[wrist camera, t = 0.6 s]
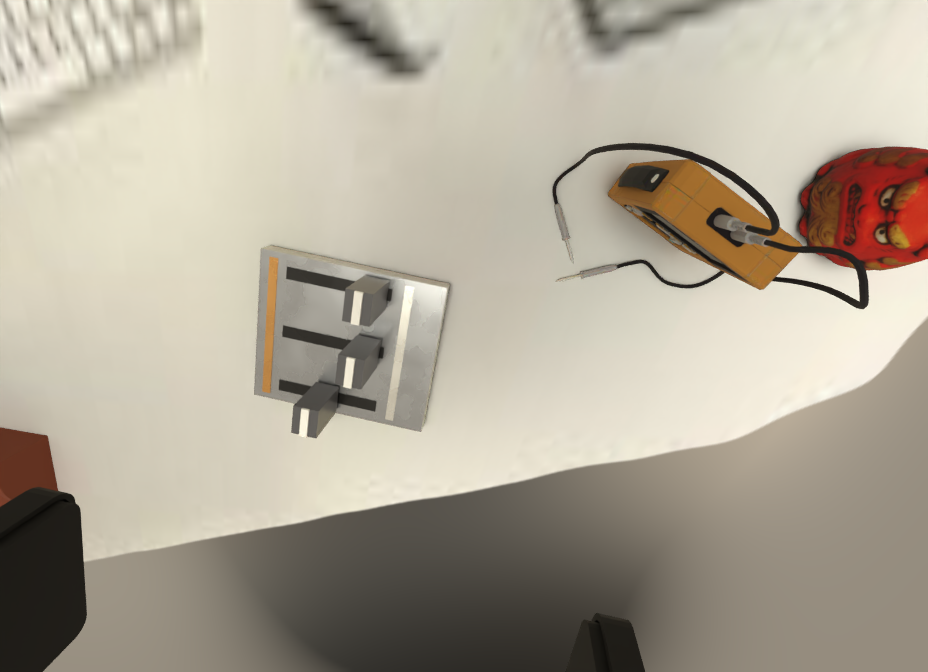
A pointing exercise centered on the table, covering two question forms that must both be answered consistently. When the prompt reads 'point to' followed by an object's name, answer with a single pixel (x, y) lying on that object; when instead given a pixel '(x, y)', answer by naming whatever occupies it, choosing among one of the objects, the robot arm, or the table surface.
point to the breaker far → (314, 410)
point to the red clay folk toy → (870, 207)
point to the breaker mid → (357, 362)
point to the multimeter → (708, 221)
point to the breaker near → (365, 300)
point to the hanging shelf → (24, 463)
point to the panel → (346, 335)
